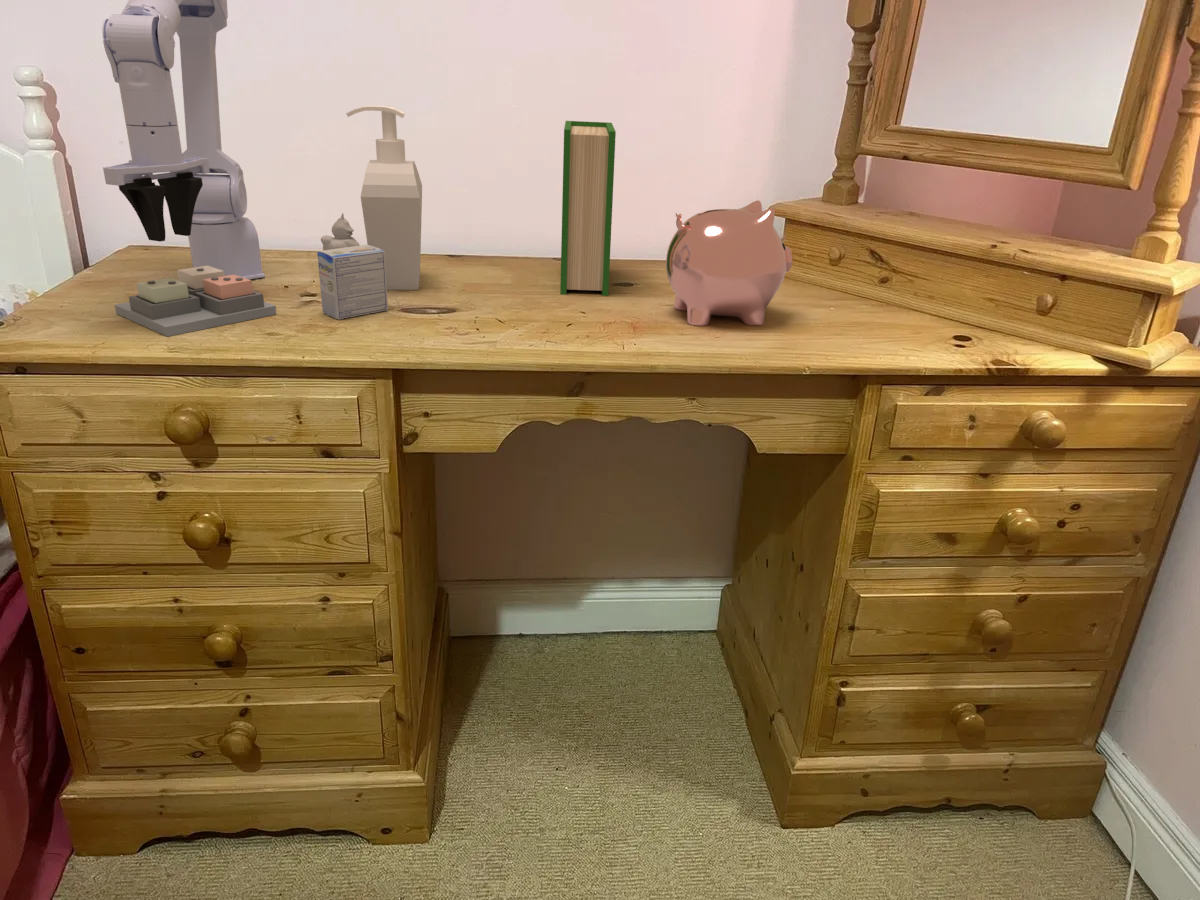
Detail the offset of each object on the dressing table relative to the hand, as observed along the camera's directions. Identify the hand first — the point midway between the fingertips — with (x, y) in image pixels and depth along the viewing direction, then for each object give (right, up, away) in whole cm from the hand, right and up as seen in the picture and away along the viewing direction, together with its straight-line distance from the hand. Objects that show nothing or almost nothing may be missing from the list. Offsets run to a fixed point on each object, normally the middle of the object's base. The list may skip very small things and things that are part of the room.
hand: (170, 237), depth 113 cm
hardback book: (+52, 0, +31) cm, 61 cm away
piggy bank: (+73, -8, +16) cm, 75 cm away
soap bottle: (+22, -1, +25) cm, 34 cm away
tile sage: (-2, -7, +2) cm, 8 cm away
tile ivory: (0, -4, +9) cm, 10 cm away
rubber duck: (+10, +5, +39) cm, 41 cm away
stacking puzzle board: (+1, -9, +6) cm, 11 cm away
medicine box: (+21, -8, +10) cm, 25 cm away
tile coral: (+6, -6, +5) cm, 10 cm away
